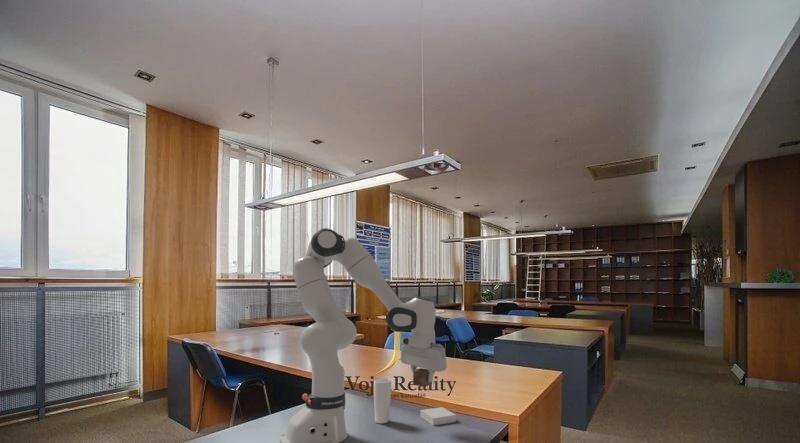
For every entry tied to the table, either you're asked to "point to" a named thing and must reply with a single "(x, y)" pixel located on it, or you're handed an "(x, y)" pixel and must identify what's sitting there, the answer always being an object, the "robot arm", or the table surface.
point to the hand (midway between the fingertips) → (422, 379)
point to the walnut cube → (421, 377)
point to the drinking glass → (382, 399)
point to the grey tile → (437, 416)
